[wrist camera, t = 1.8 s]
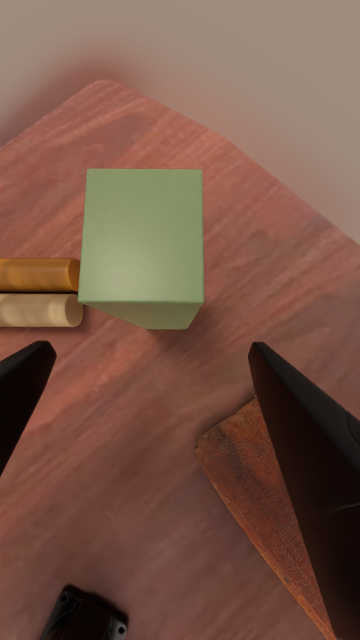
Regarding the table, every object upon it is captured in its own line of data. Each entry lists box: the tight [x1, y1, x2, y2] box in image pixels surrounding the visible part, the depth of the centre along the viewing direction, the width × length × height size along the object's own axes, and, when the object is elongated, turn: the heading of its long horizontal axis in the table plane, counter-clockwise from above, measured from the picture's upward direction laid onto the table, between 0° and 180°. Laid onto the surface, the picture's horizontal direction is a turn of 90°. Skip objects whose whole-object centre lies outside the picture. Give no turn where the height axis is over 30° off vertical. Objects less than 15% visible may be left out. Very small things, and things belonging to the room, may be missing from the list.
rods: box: [0, 258, 83, 327], centre depth 18 cm, size 7×11×3 cm, turn 90°
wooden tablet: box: [194, 395, 337, 640], centre depth 16 cm, size 27×10×2 cm, turn 37°
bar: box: [78, 169, 204, 329], centre depth 13 cm, size 5×4×13 cm
